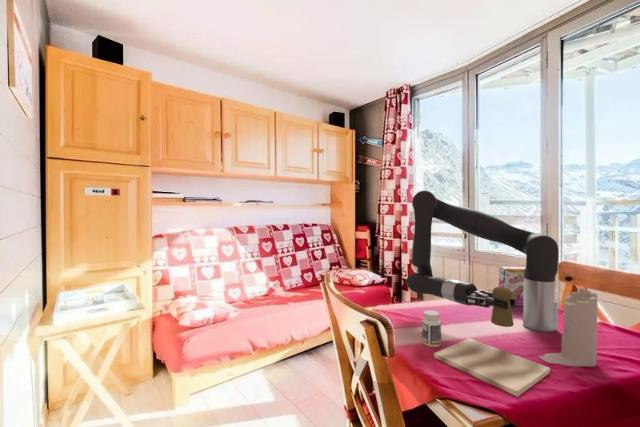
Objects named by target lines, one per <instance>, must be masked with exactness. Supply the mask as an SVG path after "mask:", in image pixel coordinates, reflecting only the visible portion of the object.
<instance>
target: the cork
mask: <svg viewBox="0 0 640 427" xmlns="http://www.w3.org/2000/svg"><path fill="white" fill-rule="evenodd" d="M492 290H493V296H494V297H495V298H494V299H498V300H502V301H506V302H508V303H509V309H502V308H499V307H492V314H491V319H490V322H491V323H492V324H493V325H495V326H499V327H504V328H509V327H510V328H511V327H513V326H514V324H515V323H514V319H513V312H512V311H513V310H512V306H511V304H510V299H511V297H512V292H511V290H510V289H508V288H504V287H499V286H497V287H494V288H493V289H492Z"/></svg>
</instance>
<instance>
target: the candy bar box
mask: <svg viewBox="0 0 640 427" xmlns="http://www.w3.org/2000/svg"><path fill="white" fill-rule="evenodd" d="M525 268H526V266H525V267H523V266H521V267H520V266H499V267H498V287H504V288H508V289H510V290H511V292H512V297H511V298H512V299H515V300H516V306H515V307H523V288H524V270H525Z"/></svg>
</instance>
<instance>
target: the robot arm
mask: <svg viewBox="0 0 640 427" xmlns="http://www.w3.org/2000/svg"><path fill="white" fill-rule="evenodd" d="M411 203H412V204H411V205H412V209H413V215H414V230H413V231H414V232H413V239H412V251H411V253H412V254H411V264H412V266H413V267H416V270H417V272H415V273H411V274H409V275H407V277H406V280H405V284H406V286H407V288H408V289H409V290H410V291H412V292H414V293H417V294H418V293H419V294H424V295H430V296H435V297H439V298H441V299H445V300H448V301H451V302H453V303H457V304H461V305H465V306H476V307H482V308H487V309H488V308H493V307H499V308H502V309H509V303H508V302H506V301H502V300H498V299H494V298H495V297H494V296H493V289H488V290H487V291H486V290H485V289H477V286H476V285H475V284H474V283H472V282H469V281H468V282H467V281H462V280H457V279H448V278H443V277H439V276H436V277H435V276H434V275H433V269H432V266H431V259H432V258H431V256H432V254H431V253H432V224H433V219H436V220H439V221H441V222H445V223H446V224H449V225H451V227H454V228H456V229H459V230H461V231H463V232H465V233H467V234H470V235H472V236H475V237H478V238H480V239H484V240H487V241H491V242H495V243H499V244H503V245H506V246H508V247H510V248H512V249H515V250H516V251H519V252H521V253H523V255H526V256H525V257H526V259H525V260H526V262H525V270H524V288H523V306H522V308H523V310H522V312H523V313H522V325H523V326H524V327H526V328H528V329H531V330H533V331H538V332H545V333H546V332H547V333H550V332H554V331H558V330H559V329H558V328H559V327H558V326H559V303H558V302H557V301H556V277H557V274H558V270H559V244H558V243H557V241H556V240H555V239H554V238H553V237H550V236H549V235H546V234H543V233H542V234H541V233H536V232H532V231H529V230H525V229H521V228H518V227H515V226H512V225H511V224H509V223H507V222H505V221H504V220H501V219H499V218H498V217H495V216H493V215H491V214H488V213H485V212H482V211H480V210H477V209H473V208H469V207H464V206H459V205H454V204H451V203H448V202H446V201H444V200H441V199H439V198H436V196H435V194H433V192H431V191H429V190H420V191H418V192H416V193H415V195H413V198H412V201H411ZM510 304H511V307H517V306H516V300H515V299H512V298H511V299H510Z"/></svg>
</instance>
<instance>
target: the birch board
mask: <svg viewBox="0 0 640 427" xmlns="http://www.w3.org/2000/svg"><path fill="white" fill-rule="evenodd" d="M433 358H434V359H436V360H438V361H441V362H442V363H445V364H447V365H449V366H451V367H453V368H456V369H458V370H460V371H462V372H464V373H466V374H468V375H470V376H473V377H475V378H478V379H479V380H481V381H483V382H485V383H488V384H490V385H491V386H494V387H496V388H499V389H500V390H502V391H505V392H506V393H509V394H511V395H513V396H516V397H517V398H518V397H520V395H522V394H523V393H525V392H526V391H527V390H529V389H530V388H531V387H533V386H534V385H536V384H537V383H538V382H539V381H541V380H542V379H544V377H546V376H548V375H549V374H550V373H551V367H548V366H547V365H546V366H545V365H543V364H540V363H537V362H534V361H532V360H530V359H527V358H524V357H521V356H519V355H516V354H513V353H511V352H508V351H505V350H503V349H500V348H498V347H494V346H491V345H489V344H486V343H483V342H481V341H478V340H476V339H472V338H470V337H468V338H465V339H463V340H461V341H459V342H457V343H455V344H451V345H449V346H446V347H445V348H443V349H440V350H438V351H435V352H433Z"/></svg>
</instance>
